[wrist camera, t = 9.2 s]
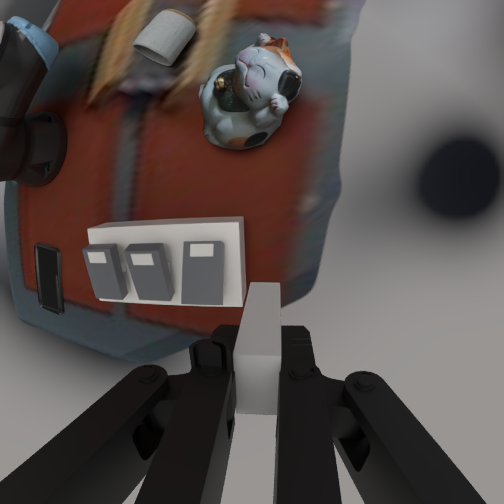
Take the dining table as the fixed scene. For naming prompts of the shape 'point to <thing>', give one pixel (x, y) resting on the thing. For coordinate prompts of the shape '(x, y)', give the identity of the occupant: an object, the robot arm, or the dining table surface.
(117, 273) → the block
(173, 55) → the ceramic mug
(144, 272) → the rocker
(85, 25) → the dining table surface
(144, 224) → the switch unit
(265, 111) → the lucky cat figurine
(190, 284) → the rocker
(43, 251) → the phone
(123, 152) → the dining table surface
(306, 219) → the dining table surface
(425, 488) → the robot arm
